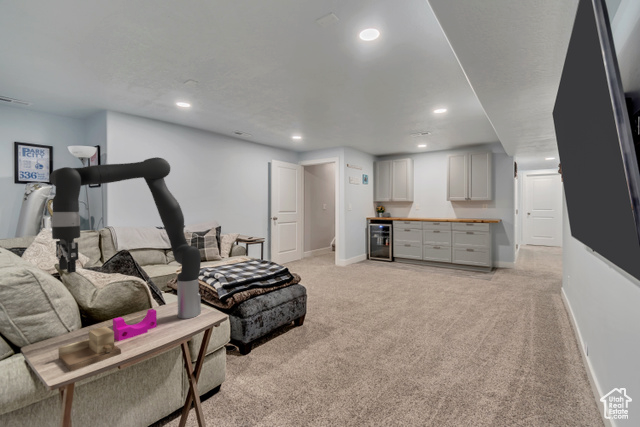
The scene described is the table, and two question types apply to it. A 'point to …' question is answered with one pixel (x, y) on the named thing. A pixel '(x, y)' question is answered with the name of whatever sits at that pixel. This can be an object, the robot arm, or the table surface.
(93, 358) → the board
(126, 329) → the toy block
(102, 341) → the beige rectangular block
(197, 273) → the robot arm
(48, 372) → the table surface
